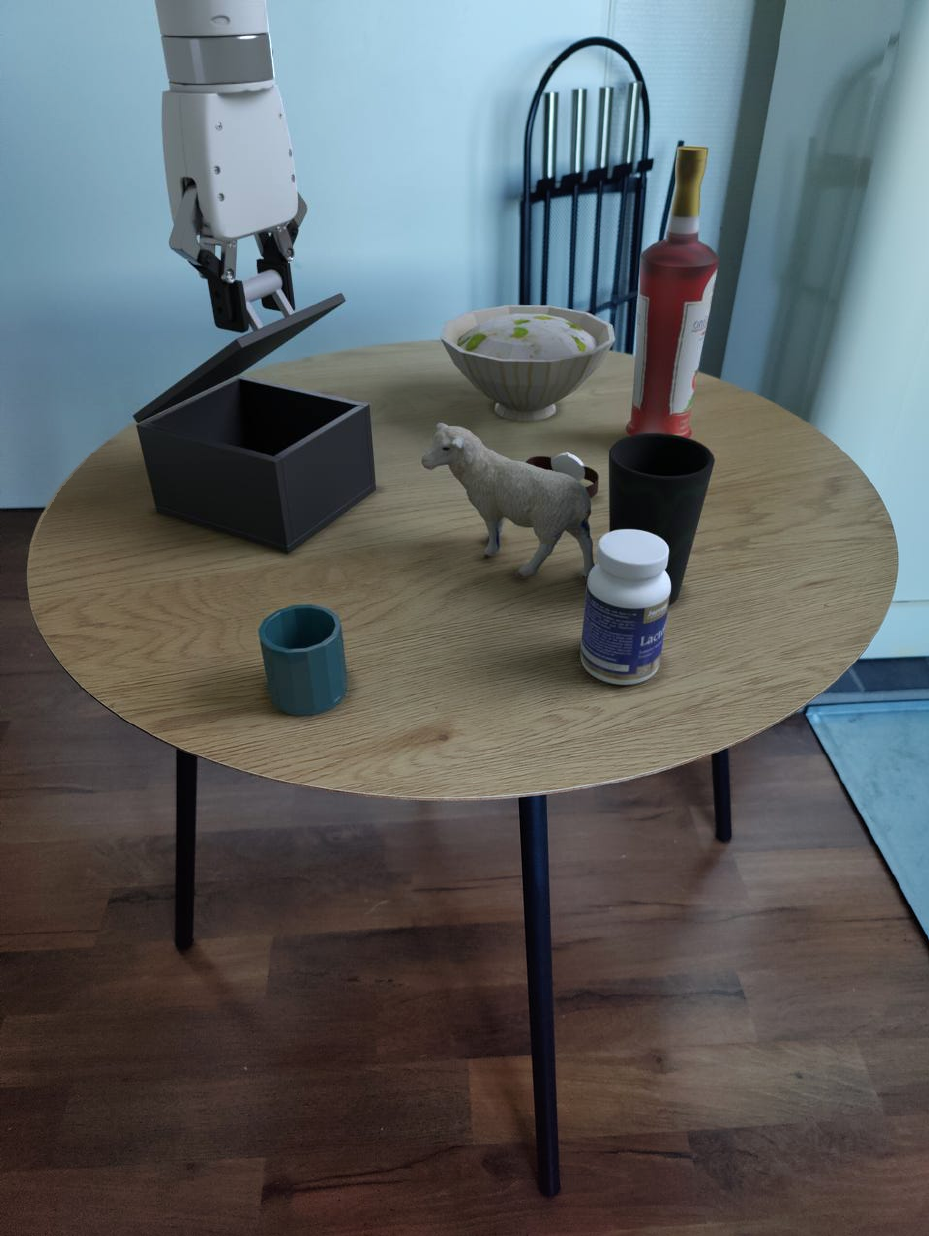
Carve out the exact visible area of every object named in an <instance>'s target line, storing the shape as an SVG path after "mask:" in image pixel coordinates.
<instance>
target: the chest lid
mask: <svg viewBox="0 0 929 1236" xmlns="http://www.w3.org/2000/svg"><path fill="white" fill-rule="evenodd" d="M240 281H242V284H243V287H244V294H245V301H246V308H247V314H248V321H249V327H250V328H251V330H252V331H251V332H248V333H246V334H243V335H241V336H240V337H237V338H235V339H234V340H232V342H230V343H228V344H227V345H226V346H225V347H223V348H222V349H220V350H219V351H218V352H216V353H215V354H213V355H212V356H211V357H210V358H208V359H207V360H205V361H204V362H203V363H202V364H200V365H199V366H197V367H196V368H195V369H194V370H192V371H191V372H189V373H188V374H187V375H185V376H184V377H183V378H181V379H180V380H179V381H177V382H176V383H174V384H172V386H170V387H169V388H168V389H166V390H165V391H164V392H161V394H160V395H159V396H156V397H155V398H154V399H153V400H152V401H150V402H149V403H147V404H146V405H144V407H142V408H141V409H139V410H138V411H136V412H135V413H134V414H133V415H132V418H133V419H134V421H135V422H136V424H139V423H141V422H143V421H145V420H147V419H149V418H151V417H154V416H156V415H158V414H160V413H162V412H164V411H166V410H168V409H170V408H172V407H174V406H176V405H178V404H180V403H182V402H185V401H187V400H189V399H191V398H193V397H195V396H197V395H199V394H201V393H203V392H205V391H207V390H209V389H211V388H213V387H215V386H218V385H220V384H222V383H224V382H226V381H228V380H230V379H232V378H234V377H236V376H238V375H241V374H242V373H244V372H245V371H246V370H248V369H250V368H251V367H253V366H254V365H255V364H257V363H258V362H260V361H261V360H263V359H264V358H266V357H267V356H268V355H270V354H272V353H273V352H275V351H276V350H277V349H279V348H280V347H282V346H284V345H285V344H286V343H288V342H289V341H290V340H291V339H293V338H295V337H296V336H297V335H299V334H301V333H302V332H303V331H305V330H306V329H308V328H309V327H311V326H312V325H314V324H315V323H317V322H318V321H320V319H323V318H324V317H325V316H327V315H328V314H329V313H331V312H333V311H334V310H335V309H337V308H338V307H340V306H341V305H343V304H344V303H345V302H346V301H347V299H346V298H345V295H344V294H343V293H342V292H339V293H337V294H335V295H333V296H330V297H328V298H326V299H323V300H321V301H319V302H316V303H314V304H312V305H310V306H307V307H305V308H303V309H300V310H298V311H296V312H295V311H293V309H292V307H291V305H290V304H289V302H288V300H287V298H286V297H285V295H284V293H283V291H282V290H281V288H282V284H283V283H282V278H281V276H280V274H279V273H278V272H277V271H275V270H272V269H271V270H267V271H265V272H262V273H259V274H258V273H257V274H254V275H251V276H249V277H246V278H243V279H240ZM268 295H272V296H273V298H274V300H275V302H276V303H277V305H278V307H279V308H280V310H281V311H280V313H282V315H283V317H282V318H280V319H278V320H276V321H273V322H272V323H269V324H267V325H264V324H263V322H262V321H261V319H260V317H259V316H258V314H257V312H256V311H255V309H254V307H253V305H252V304H251V303H254V302H256V301H259V300H261V298H263V297H266V296H268Z"/></svg>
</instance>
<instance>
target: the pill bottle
mask: <svg viewBox="0 0 929 1236" xmlns="http://www.w3.org/2000/svg"><path fill="white" fill-rule="evenodd" d="M668 555H669V548H668V545H667V544H666V542H665V541H664V540H663V539H661V538H660V537H658V536H656V535H654V534H652V533H649V532H645V531H641V530H634V529H623V530H615V531H611V532H607V533H605V534H603V535H602V536H601V537H600V539H599V540H598V542H597V550H596V555H595V558H596V559H595V560H596V562H597V563H596V564H595V566H594V567H593V568H592V570H591V571H590V573H589V574H588V575H587V580H586V590H585V599H584V601H585V602H584V611H583V622H582V630H581V631H582V632H581V638H580V639H581V641H580V650H579V651H580V653H579V654H580V661H581V663H582V666H583V668H584V669H585V670H586V672H588V673H589V674H590V675H592V676H593V677H594V678H596V679H598V680H600V681H602V682H604V683H609V684H613V685H619V686H623V685H624V686H629V685H631V686H632V685H636V684H640V683H643V682H645V681H647V680H649V679H651V678H652V677H653V676H655V674H656V673H657V671H658V669H659V667H660V664H661V657H662V652H663V651H662V650H663V644H664V637H665V632H666V631H665V630H666V623H667V618H668V611H669V606H668V605H669V599H670V592H671V582H670V578H669V576H668V574H667V573H666V571H665V569H666V567H667V563H668Z"/></svg>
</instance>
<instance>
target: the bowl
mask: <svg viewBox="0 0 929 1236" xmlns="http://www.w3.org/2000/svg"><path fill="white" fill-rule="evenodd" d="M439 339H440V340H441V342H442V344H443V346H444V348H445V349H446V352H447V353H448V355H449V357H450V359H451V361H452V364H453V365H454V367H456V369H458V370H459V371H460V373H462V375H463V376H464V377H465V378H466V379H467V380H468V381H469V382H470V383H471V385H472V386H473V387H474V388H475V389H476V390H478V391H479V392H480V393H482V394H483V395H484V396H486V397H487V398H488V399H490V400H492V401H494V402H496V403H495V406H494V412H495V413H496V414H498V415H499V416H500V417H502V418H505V419H509V420H513V421H516V422H517V421H519V422H520V421H521V422H522V421H523V422H528V421H529V422H535V421H539V420H543V419H548V418H549V417H551V416H553V415H554V414H555V413H556V409H557V408H556V407H557V405H556V403H557V402H559V401H561V400H563V399H565V398H566V397H567V396H569V395H571V394H572V393H574V392H575V391H576V390H577V389H579V387H580V386H582V384H583V383H585V382H586V381H587V380H588V378H590V377H591V376H592V375H593V373H595V372H596V371H597V370H598V369H599V368H600V366H601V365H602V363H603V362H604V360H605V358H606V356H607V355H608V353H609V351H610V350H611V348H612V347H613V345H614V343H615V342H616V337H615V331H614V325H613V324H612V323H610V322H608V321H605V319H602V318H599V316H596V315H594V314H592V313H590V312H588V311H582V310H577V309H570V308H567V307H560V306H555V305H545V304H543V305H541V304H540V305H539V304H535V305H532V304H531V305H529V304H527V305H525V304H505V305H500V306H493V307H487V308H481V309H475V310H468V311H467V312H465V313H463V314H460V315H458V316H456V317H454V318H452V319H450V320H448V321H446V322H444V323H443V326H442V331H441V333H440V336H439Z"/></svg>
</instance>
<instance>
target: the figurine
mask: <svg viewBox="0 0 929 1236" xmlns="http://www.w3.org/2000/svg"><path fill="white" fill-rule="evenodd" d="M435 428H436V430H437V431H436V432H435V434H434V435H433V440H432V443H431V446H430V447H429V449H428V450H427V451H426V452H425V454H423V455H422V457H421V460H420V461H421V465H422V466H423V468H424V469H427V470H429V471H430V470H434V469H436V468H438V467H441V466H448V469H449V470H450V472H451V474H453V476H454V478H455V479H456V480H457V481H458V482H459V483H460V485H461V486H462V487H463V488H464V489H465V490H466V495H467V498H468V501H469V502H470V503H471V505H472V506H473V508H475V509H476V510H477V512H478V514H479V517H481V519H483V521H484V523H485V526H486V529H487V533H488V536H487V538H486V539H485V541H486V542H487V548H486V549H485V550H484V552H483V553H482V555H483V556H482V557H483V558H485V559H492V558H494V556H495V555H496V554H497V552H499V551H500V549H501V544H500V536H501V535H502V534H503V532H504V531H503V530H504V529H503V528H504V523H505V520H506V519H507V520H509V521H510V522H511V523H513V524H514V525H515V526H517V527H522V528H528V529H531V528H532V529H533V533H534V534H535V536H536V537H537V539H538V541H539V544H538V548H537V550H535V551H536V552H535V553H534V554H533V556H532V557H531V558H530V560H529V561H528V562H527V563H526V564H524V565H523V566H521V567H520V568H519V569H518V570H516V575H517V577H519V578H521V579H526V578H527V577H529V576H531V575H533V574H536V573H537V572H538V570H539V569H540V567H541V566H542V564H543V563H544V561H546V559H547V558H548V557H550V555H552V553H553V551H554V549H555V546H556V545H557V543H558V542H559V541H560V539H561V538H562V536H563V534H564V533H565V532H567V533H568V534H569V535H570V536H571V537H573V538H574V539H576V540H577V543H578V546H579V548H580V550H581V553H582V558H583V567H582V571H581V572H580V574H579V577H580V579H581V580H585V579H586V578H588V576H589V573H590V571H591V570H592V568H593V567H594V566H595V565H596V564H595V561H594V553H593V552H594V542H593V539H592V536H591V525H590V523H589V518H590V516H591V515H592V502H591V498H589V494H588V492H587V490H586V488H585V487H586V486H584V485H583V484H582V483H581V482H580V481H577V480H576V479H575V478H573V477H572V476H570V475H567V474H564V473H560V472H555V471H552V470H545V469H542V468H539V467H536V466H534V465H531V464H528V463H525V462H526V461H520V460H512V459H510V458H509V457H507V456H505V455H502V454H499V453H497V452H495V451H494V450H493V449H489V448H487V447H486V446H485V445H484V444H483V443H482V441H481V439H480V438H479V437H478V436H476V435H475V434H474V433H473V432H472V431H471V430H469V429H467V428H465V427H462V426H458V425H457V426H456V425H454V426H453V425H448V424H445V423H443V422H439V423H436V426H435Z"/></svg>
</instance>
